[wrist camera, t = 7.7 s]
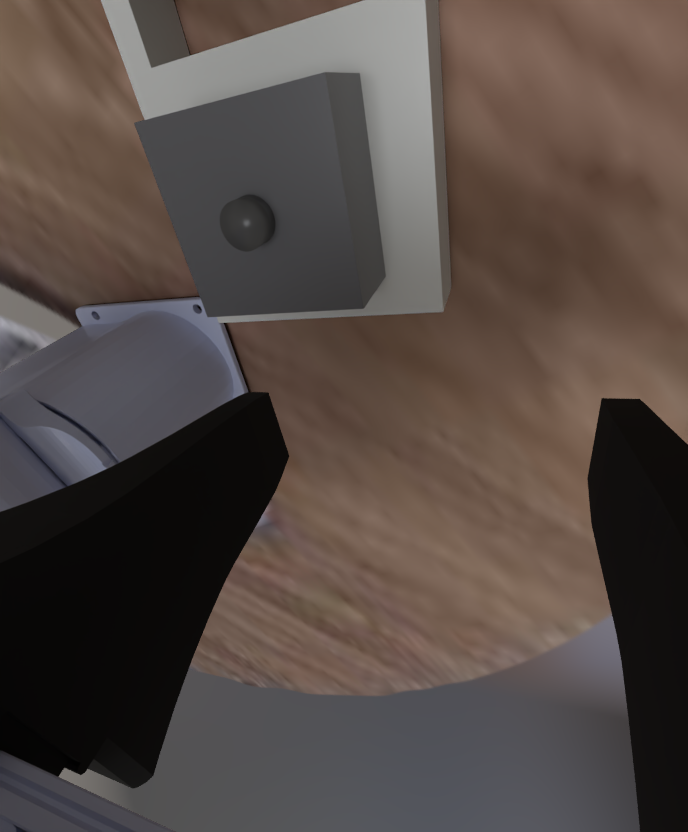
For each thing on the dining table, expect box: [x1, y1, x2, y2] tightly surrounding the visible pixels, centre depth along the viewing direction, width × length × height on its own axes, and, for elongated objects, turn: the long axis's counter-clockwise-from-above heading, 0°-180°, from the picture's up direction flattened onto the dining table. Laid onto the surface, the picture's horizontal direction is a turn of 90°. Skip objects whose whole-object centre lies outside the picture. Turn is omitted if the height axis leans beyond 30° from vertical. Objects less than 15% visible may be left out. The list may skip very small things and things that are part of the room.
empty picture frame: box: [101, 0, 451, 323], centre depth 12 cm, size 10×18×6 cm, turn 11°
